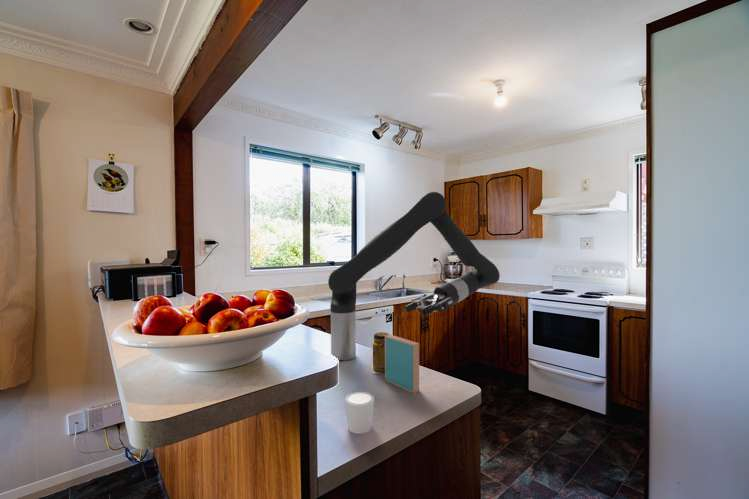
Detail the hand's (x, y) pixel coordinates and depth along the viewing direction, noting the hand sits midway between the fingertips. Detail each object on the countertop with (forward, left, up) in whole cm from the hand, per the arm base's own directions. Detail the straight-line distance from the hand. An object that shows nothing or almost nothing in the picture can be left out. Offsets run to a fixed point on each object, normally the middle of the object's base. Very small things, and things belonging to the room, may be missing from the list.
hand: (413, 311), depth 106 cm
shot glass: (+22, -21, -22) cm, 38 cm away
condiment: (-10, -7, -22) cm, 25 cm away
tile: (+3, -5, -21) cm, 22 cm away
